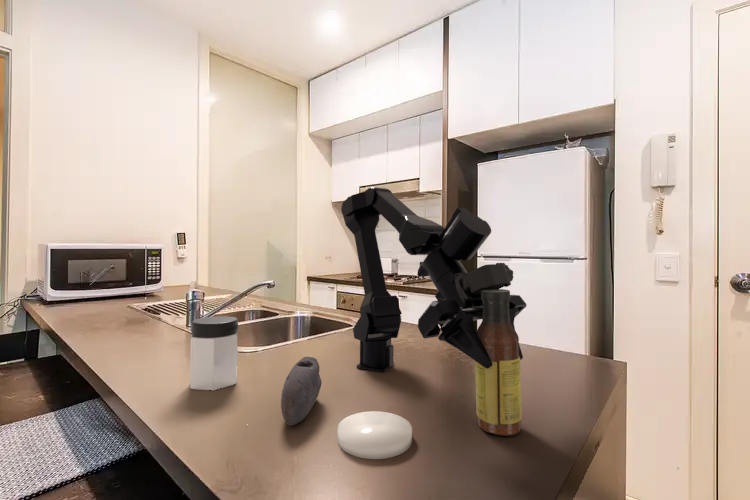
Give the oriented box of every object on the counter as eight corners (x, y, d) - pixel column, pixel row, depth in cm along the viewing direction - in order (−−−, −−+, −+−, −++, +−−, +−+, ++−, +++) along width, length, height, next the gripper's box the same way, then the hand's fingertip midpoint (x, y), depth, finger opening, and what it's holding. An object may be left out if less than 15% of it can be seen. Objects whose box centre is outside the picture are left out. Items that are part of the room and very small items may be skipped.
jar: (237, 388, 68) (238, 322, 68) (187, 394, 65) (188, 325, 65) (237, 373, 76) (238, 314, 76) (193, 377, 73) (194, 316, 73)
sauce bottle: (520, 422, 55) (522, 288, 55) (522, 442, 49) (524, 293, 50) (475, 415, 57) (476, 287, 58) (472, 433, 52) (474, 290, 52)
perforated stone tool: (305, 436, 50) (305, 385, 51) (267, 435, 51) (267, 384, 51) (325, 394, 65) (325, 355, 66) (295, 393, 66) (296, 354, 66)
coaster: (323, 448, 47) (323, 436, 47) (357, 416, 57) (357, 406, 57) (397, 466, 43) (397, 454, 43) (420, 429, 53) (420, 418, 53)
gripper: (431, 244, 52) (493, 339, 42) (516, 246, 62) (583, 323, 52) (397, 294, 58) (445, 386, 49) (480, 289, 68) (532, 364, 59)
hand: (505, 363), depth 52 cm, fingers closed on sauce bottle, 6 cm apart
